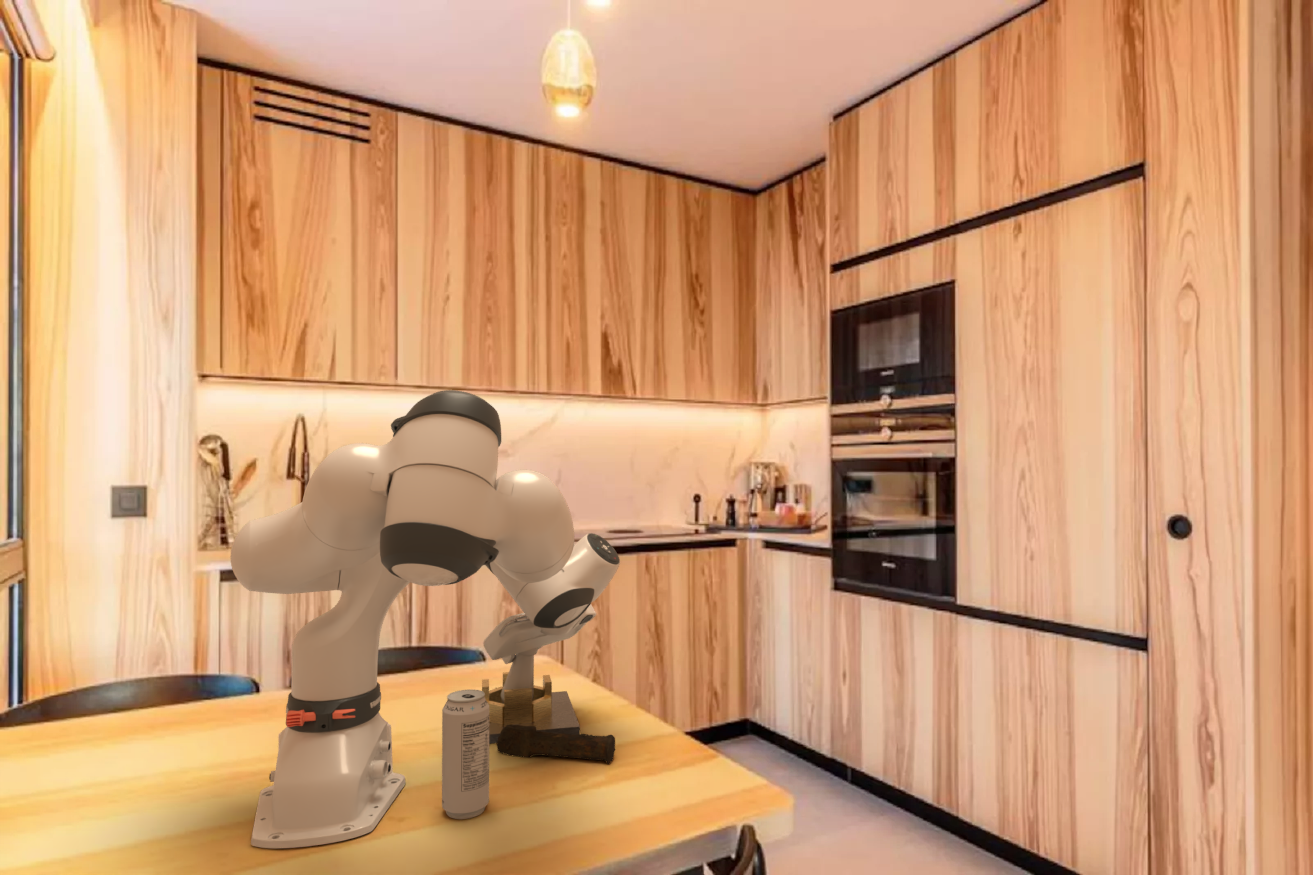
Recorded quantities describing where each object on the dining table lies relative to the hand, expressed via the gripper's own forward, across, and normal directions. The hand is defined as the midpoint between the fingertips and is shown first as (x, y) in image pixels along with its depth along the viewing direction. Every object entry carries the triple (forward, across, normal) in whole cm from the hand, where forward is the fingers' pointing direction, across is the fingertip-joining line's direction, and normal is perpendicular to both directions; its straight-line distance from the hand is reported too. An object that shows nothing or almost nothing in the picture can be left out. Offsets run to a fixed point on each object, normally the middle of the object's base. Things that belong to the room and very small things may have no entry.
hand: (515, 657), depth 132 cm
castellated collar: (+7, 0, -8) cm, 11 cm away
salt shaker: (+6, 0, -6) cm, 9 cm away
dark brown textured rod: (-4, -8, -20) cm, 23 cm away
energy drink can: (-6, -28, -22) cm, 36 cm away
